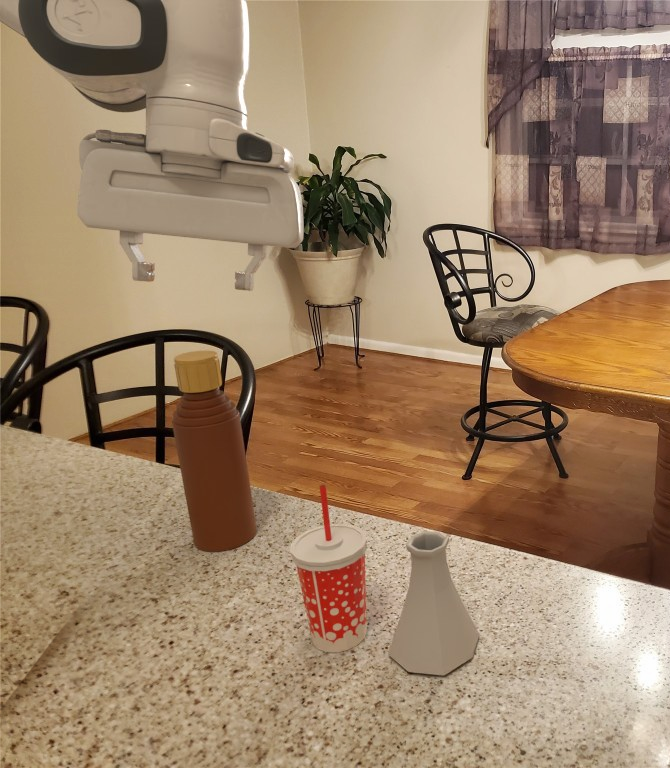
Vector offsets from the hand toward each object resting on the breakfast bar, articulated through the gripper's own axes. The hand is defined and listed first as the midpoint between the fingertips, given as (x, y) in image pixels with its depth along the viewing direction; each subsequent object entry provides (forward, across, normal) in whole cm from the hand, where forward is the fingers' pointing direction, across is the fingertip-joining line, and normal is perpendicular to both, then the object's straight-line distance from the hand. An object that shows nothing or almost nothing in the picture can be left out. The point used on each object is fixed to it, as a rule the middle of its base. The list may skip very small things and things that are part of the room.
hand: (194, 285), depth 68 cm
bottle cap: (+10, +1, 0) cm, 10 cm away
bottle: (+27, +3, +1) cm, 27 cm away
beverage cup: (+28, +17, -18) cm, 37 cm away
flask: (+27, +25, -21) cm, 42 cm away
